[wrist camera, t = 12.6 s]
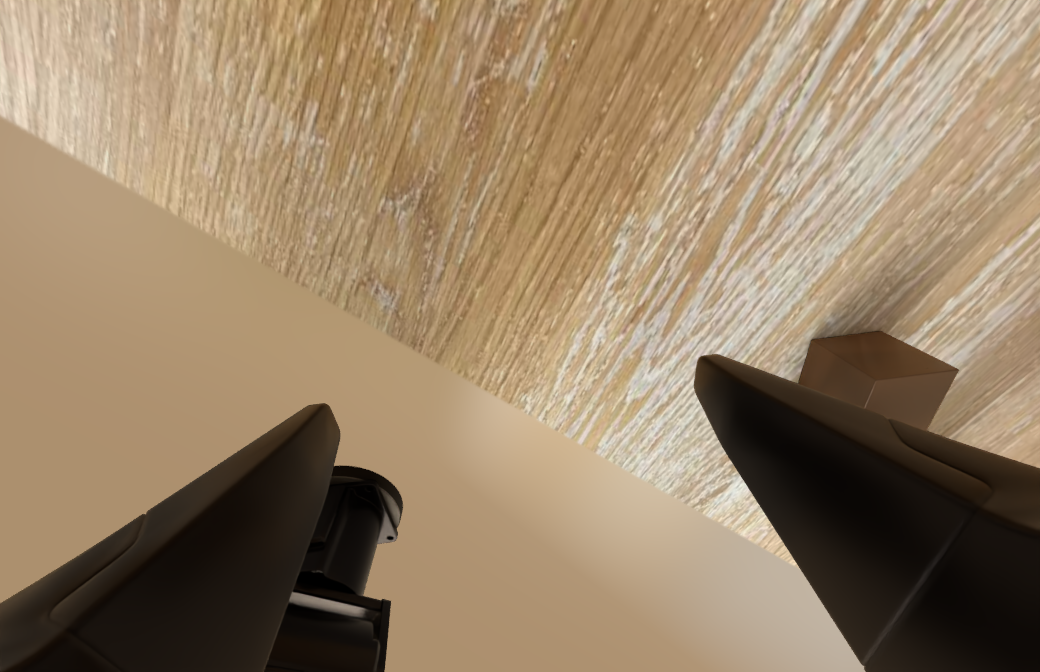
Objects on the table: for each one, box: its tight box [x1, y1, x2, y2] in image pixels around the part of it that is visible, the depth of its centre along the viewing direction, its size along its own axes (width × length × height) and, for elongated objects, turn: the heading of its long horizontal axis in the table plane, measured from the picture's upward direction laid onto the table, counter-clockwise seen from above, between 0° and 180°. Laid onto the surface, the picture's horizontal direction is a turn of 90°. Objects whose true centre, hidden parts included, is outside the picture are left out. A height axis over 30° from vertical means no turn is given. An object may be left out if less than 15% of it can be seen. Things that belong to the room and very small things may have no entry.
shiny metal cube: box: [798, 331, 959, 431], centre depth 23 cm, size 4×4×4 cm
